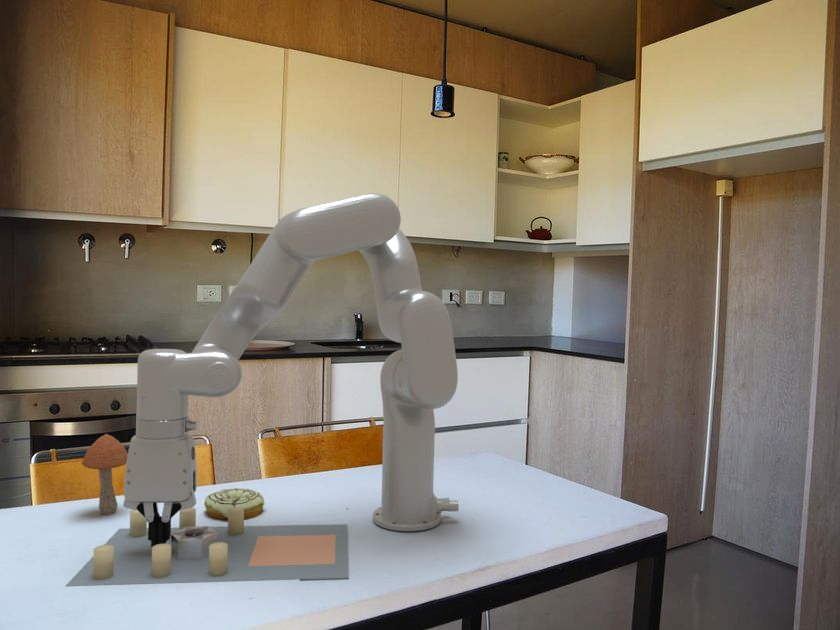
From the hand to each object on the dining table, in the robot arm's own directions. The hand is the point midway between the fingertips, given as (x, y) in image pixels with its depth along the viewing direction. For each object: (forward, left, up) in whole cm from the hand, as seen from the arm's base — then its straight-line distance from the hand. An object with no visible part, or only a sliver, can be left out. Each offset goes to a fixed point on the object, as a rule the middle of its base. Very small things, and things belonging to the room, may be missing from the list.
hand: (159, 544), depth 101 cm
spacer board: (-10, 0, -2) cm, 10 cm away
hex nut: (-5, 0, -1) cm, 5 cm away
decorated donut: (-8, -19, -2) cm, 21 cm away
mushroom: (+15, -19, -2) cm, 24 cm away
